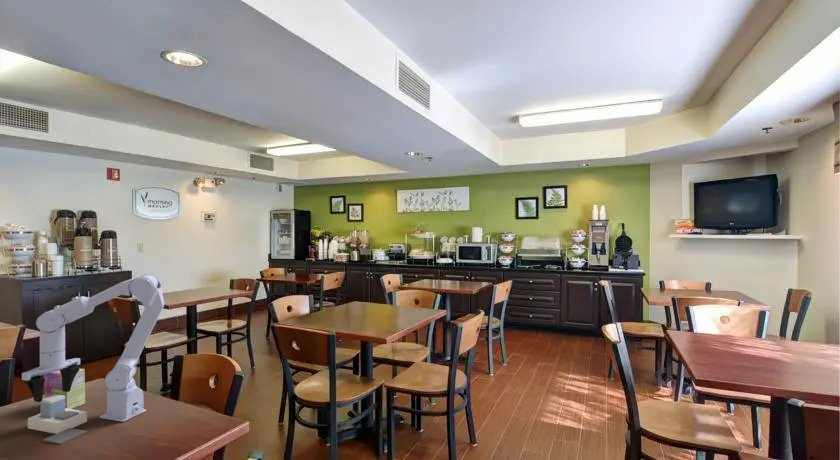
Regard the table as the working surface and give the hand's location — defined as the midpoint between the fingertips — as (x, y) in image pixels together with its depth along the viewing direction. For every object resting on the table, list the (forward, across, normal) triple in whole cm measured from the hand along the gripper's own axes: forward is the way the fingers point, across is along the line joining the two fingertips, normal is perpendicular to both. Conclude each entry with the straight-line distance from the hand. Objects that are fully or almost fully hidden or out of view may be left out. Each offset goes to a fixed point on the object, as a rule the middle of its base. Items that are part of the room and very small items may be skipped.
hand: (52, 396), depth 126 cm
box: (+9, -11, -10) cm, 17 cm away
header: (+8, 0, +2) cm, 9 cm away
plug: (+8, 0, 0) cm, 8 cm away
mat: (+8, +4, +12) cm, 15 cm away
